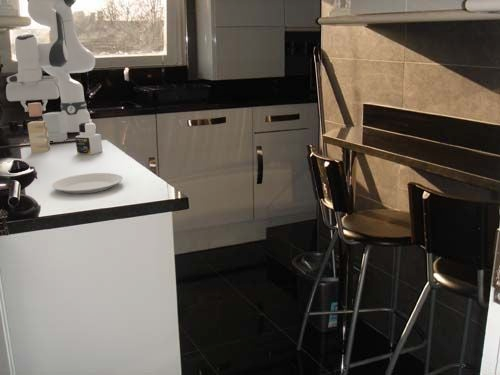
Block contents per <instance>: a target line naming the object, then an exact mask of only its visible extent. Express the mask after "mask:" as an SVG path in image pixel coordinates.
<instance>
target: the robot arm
mask: <svg viewBox="0 0 500 375" xmlns="http://www.w3.org/2000/svg"><path fill="white" fill-rule="evenodd" d="M76 1H77V0H27V13H28V15H29V17H30V19H32V21H34V22H35V23H37V24H39V25H41V26H45V27H49V28H50V33H51V37H52V39H53V40H52V41H50V42H37V38H36V36H35V35H34V34H21V35H18V36H16V37H15V40H14V45H15V46H14V51H15V58H16V60H17V65H18V66H17V71H18V72H17V73H15V74H13V75H10V76H7V77H6V82H7V84H6V86H5V95H6V99H7V100H8V101H9V102H20V104H21V106H22V107H23V108H24V112H25V113H26V112H27V113H29V109H28V105H26V103H27V101H40V100H42V103H43V104H42V105H41V111H42V112H45V111H46V109H47V108H46V106H47V103H48V100H57V99H59V97H60V110H61V112H64V117H65V125H66V132H67V133H80V131H79V124H81V123H86V122H92V123H93V120H92V119H91V116H90V112H89V111H88V108H87V102H86V100H85V95H84V94H85V93H84V86H83V84H82V83H80V82H79V81H77V80H76V79H74V78H72V77H71V75H70V74H76V73H77V74H79V73H80V74H81V73H87V72H90V71H93V69H94V68H95V66H96V57H95V55H94V54H93V53H92V51H90V49H87V47H86V46H84V45H83V44H82V42H81V41H80V39H79V38H78V34H77V31H76V26H75V20H74V15H73V10H72V6H73V5H74V4H75V3H76ZM42 70H43V71H44V72H46V74H48V75H43V71H42ZM96 129H97V128H96V126H95V130H96Z"/></svg>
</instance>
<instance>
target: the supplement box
mask: <svg viewBox="0 0 500 375" xmlns="http://www.w3.org/2000/svg"><path fill="white" fill-rule="evenodd" d="M41 117H42V121H46V123H47V130H48V137H49V143H51V142H50V141H53V142H52V143H62V142H65V141H66V139H67V140H68V132H66V125H65V117H64V112H62V111H51V112H47V113H42V116H41ZM64 140H65V141H64Z"/></svg>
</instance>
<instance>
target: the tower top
mask: <svg viewBox="0 0 500 375" xmlns="http://www.w3.org/2000/svg"><path fill="white" fill-rule="evenodd" d="M26 124H27V132H28V134H29V133H44V132H46V131H47V123H46V121H43V120H35V121H32V120H31V121H29V122H28V123H26Z"/></svg>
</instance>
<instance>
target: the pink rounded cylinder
mask: <svg viewBox="0 0 500 375" xmlns="http://www.w3.org/2000/svg"><path fill="white" fill-rule="evenodd" d="M41 106H42V103H41V102H31V103H30V102H29V103H27V107H28V109H29V112H28V114H29V118H31V117H32V118H33V117H34V118H35V117H42V115H43V111H41Z"/></svg>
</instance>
